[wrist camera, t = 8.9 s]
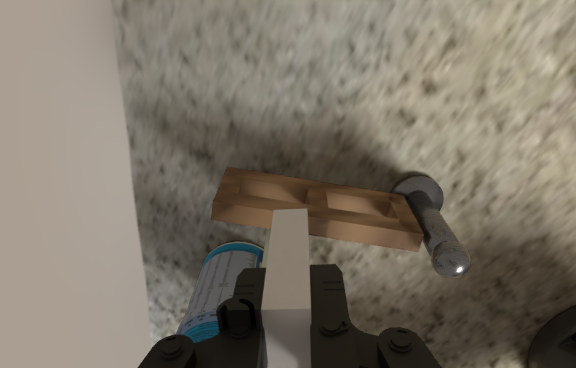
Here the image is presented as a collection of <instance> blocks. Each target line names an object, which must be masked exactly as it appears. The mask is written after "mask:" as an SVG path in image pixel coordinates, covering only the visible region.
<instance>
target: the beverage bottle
mask: <svg viewBox="0 0 576 368" xmlns="http://www.w3.org/2000/svg"><path fill="white" fill-rule="evenodd" d="M263 252H264V249H262V248H261V247H259V246H257V245H254V244H251V243H247V242H230V243H226V244H223V245H220V246H218V247H217V248H215V249H214V250H212V251H211V252H210V253H209V254H208V256H207V257H206V258H205V260H204V262H203V265H202V268H201V271H200V275H199V278H198V281H197V284H196V286H195V289H194V292H193V295H192V297H191V300H190V303H189V305H188V308H187V311H186V314H185V316H184V319H183V321H182V322H181V324H180V326H179V328H178V330H177V333H176V335H185V336H188V337H190V338H191V339H192V341H193V343H196V342H199V341H203V340H206V339H209V338H211V337H213V336H215V335H217V334H218V333H219V327H218V320H217V314H216V310H217V308H218V306H219V305H220V304H221V303H222V302H223V301H225V300H227V299H229V298H232V297H233V293H234V288H235V284H236V279H237V276H238V275H239V274H240V273H241V271H242V270H243V269H244V268H262V260H263Z"/></svg>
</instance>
